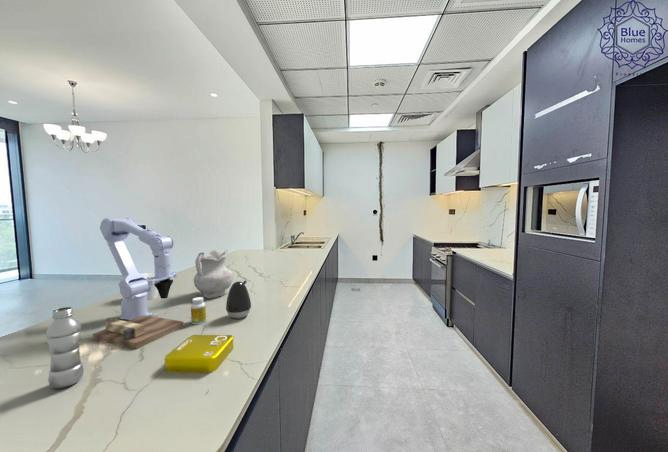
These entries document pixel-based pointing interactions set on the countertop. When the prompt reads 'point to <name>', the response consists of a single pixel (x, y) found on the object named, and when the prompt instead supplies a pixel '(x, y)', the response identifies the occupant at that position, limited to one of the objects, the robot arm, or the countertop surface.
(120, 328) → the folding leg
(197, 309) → the supplement bottle
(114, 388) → the countertop surface
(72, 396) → the countertop surface
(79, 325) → the plastic bottle
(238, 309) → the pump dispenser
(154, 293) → the cup
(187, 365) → the element tile
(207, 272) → the ceramic pitcher
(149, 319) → the wooden board
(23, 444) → the countertop surface
